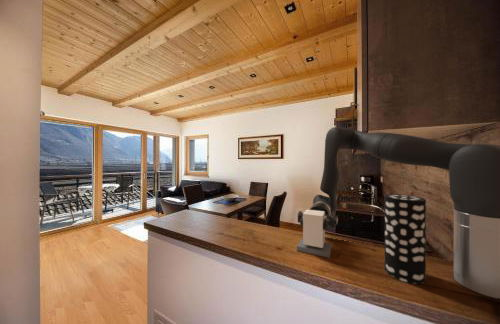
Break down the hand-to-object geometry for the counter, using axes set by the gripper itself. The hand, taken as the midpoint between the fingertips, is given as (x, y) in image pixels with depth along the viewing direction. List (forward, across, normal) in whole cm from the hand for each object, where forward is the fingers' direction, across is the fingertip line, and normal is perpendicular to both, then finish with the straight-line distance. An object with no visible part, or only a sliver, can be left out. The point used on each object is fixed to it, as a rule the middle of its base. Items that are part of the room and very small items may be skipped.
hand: (313, 225), depth 61 cm
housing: (-2, 0, +6) cm, 7 cm away
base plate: (-2, 0, +9) cm, 9 cm away
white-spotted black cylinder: (+1, +23, +9) cm, 25 cm away
